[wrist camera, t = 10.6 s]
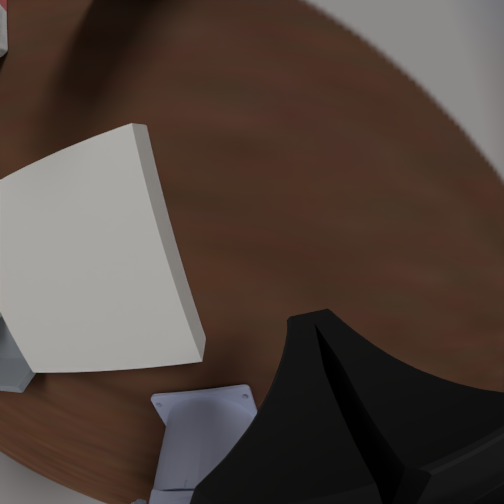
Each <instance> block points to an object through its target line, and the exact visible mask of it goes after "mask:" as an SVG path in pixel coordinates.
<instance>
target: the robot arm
mask: <svg viewBox="0 0 504 504" xmlns="http://www.w3.org/2000/svg"><path fill="white" fill-rule="evenodd" d="M244 394H247V395H244ZM151 402H152V403H153V405H154V407H155V408H156V410H157V412H158V414H159V415H160V417H161V419H162V420H163V422H164V424H165V425H166V429H165V434H164V438H163V443H162V448H161V452H160V457H159V462H158V467H157V472H156V476H155V481H154V486H153V489H152V491H151V495H150V500H149V504H504V393H503V392H496V391H489V390H482V389H478V388H473V387H469V386H465V385H461V384H458V383H454V382H451V381H448V380H445V379H442V378H439V377H436V376H434V375H431V374H428V373H426V372H423V371H421V370H419V369H416V368H414V367H412V366H410V365H408V364H406V363H404V362H402V361H400V360H398V359H396V358H394V357H392V356H391V355H389V354H387V353H386V352H384V351H383V350H381V349H379V348H378V347H376V346H375V345H373V344H372V343H371V342H369V341H368V340H366V339H365V338H364V337H362V336H361V335H360V334H358V333H357V332H356V331H354V330H353V329H352V328H351V327H349V326H348V325H347V324H346V323H344V322H343V321H342V320H341V319H340V318H339V317H337V316H336V315H335V314H334V313H333V312H332V311H330V310H329V309H324V310H320V311H315V312H310V313H306V314H301V315H296V316H291V317H289V319H288V320H287V336H286V342H285V346H284V350H283V354H282V358H281V361H280V364H279V367H278V370H277V373H276V375H275V378H274V381H273V383H272V385H271V388H270V390H269V392H268V394H267V396H266V398H265V400H264V402H263V404H262V406H261V407H260V409H259V411H258V412H257V409H256V405H255V402H254V399H253V396H252V392H251V389H250V387H249V386H248V385H235V386H228V387H221V388H213V389H204V390H195V391H185V392H173V393H160V394H153V395H152V397H151ZM159 403H160V404H159ZM130 504H146V500H142V499H137V501H136V502H132V503H130Z"/></svg>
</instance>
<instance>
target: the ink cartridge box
mask: <svg viewBox="0 0 504 504" xmlns="http://www.w3.org/2000/svg"><path fill="white" fill-rule="evenodd" d="M7 51H8V42H7V0H0V57H2V56H3V55H4V54H5V53H6V52H7Z"/></svg>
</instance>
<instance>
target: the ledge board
mask: <svg viewBox="0 0 504 504" xmlns="http://www.w3.org/2000/svg"><path fill="white" fill-rule="evenodd" d="M0 312H1V314H2V317H3V319H4V321H5V323H6V325H7V327H8V329H9V331H10V333H11V334H12V336H13V338H14V340H15V342H16V344H17V346H18V347H19V349H20V351H21V353H22V354H23V356H24V358H25V360H26V361H27V363H28V365H29V366H30V368H31V370H32V371H33V372H34V373H52V372H90V371H110V370H125V369H138V368H149V367H159V366H169V365H178V364H186V363H195V362H202V359H203V353H204V347H205V341H206V337H205V334H204V331H203V328H202V325H201V322H200V319H199V316H198V313H197V310H196V307H195V304H194V301H193V298H192V294H191V291H190V288H189V285H188V282H187V278H186V275H185V272H184V268H183V265H182V262H181V258H180V255H179V252H178V248H177V245H176V241H175V238H174V234H173V230H172V227H171V223H170V219H169V216H168V212H167V208H166V204H165V201H164V197H163V193H162V189H161V185H160V181H159V177H158V173H157V169H156V165H155V160H154V156H153V152H152V148H151V143H150V139H149V134H148V130H147V125H141V124H133V123H131V124H128V125H125V126H122V127H119V128H117V129H114V130H111V131H108V132H105V133H103V134H100V135H97V136H95V137H92V138H90V139H87V140H85V141H82V142H80V143H77V144H75V145H72V146H70V147H68V148H65V149H63V150H61V151H58V152H56V153H54V154H52V155H49V156H47V157H45V158H43V159H41V160H39V161H37V162H34V163H32V164H30V165H28V166H26V167H24V168H22V169H20V170H18V171H16V172H14V173H13V174H11V175H9V176H7V177H5V178H3V179H1V180H0Z"/></svg>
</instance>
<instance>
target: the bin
mask: <svg viewBox="0 0 504 504" xmlns="http://www.w3.org/2000/svg"><path fill="white" fill-rule="evenodd" d="M35 374H36V373H34V372H33V371H32V370H31V368H30V366H29V365H28V363H27V361H26V360H25V358H24V356H23V354H22V353H21V351H20V349H19V347H18V346H17V344H16V342H15V340H14V338H13V336H12V334H11V333H10V331H9V329H8V327H7V325H6V323H5V321H4V319H3V317H2V316H1V317H0V391H10V392H20V393H23V391H24V390H25V388H26V387H27V385H28V384H29V382H30V381H31V380H32V378H33V377H34V375H35Z"/></svg>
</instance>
